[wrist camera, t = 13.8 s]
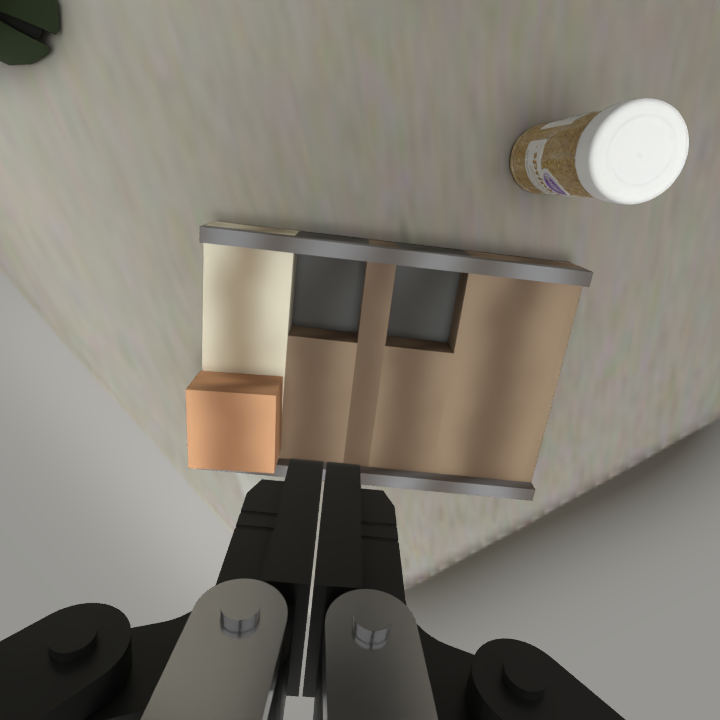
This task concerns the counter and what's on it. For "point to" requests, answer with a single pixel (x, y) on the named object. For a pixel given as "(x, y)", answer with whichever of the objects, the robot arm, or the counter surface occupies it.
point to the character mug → (25, 29)
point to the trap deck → (394, 351)
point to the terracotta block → (234, 421)
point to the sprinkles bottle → (605, 153)
